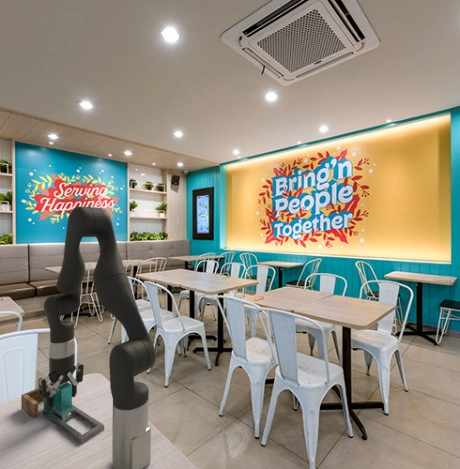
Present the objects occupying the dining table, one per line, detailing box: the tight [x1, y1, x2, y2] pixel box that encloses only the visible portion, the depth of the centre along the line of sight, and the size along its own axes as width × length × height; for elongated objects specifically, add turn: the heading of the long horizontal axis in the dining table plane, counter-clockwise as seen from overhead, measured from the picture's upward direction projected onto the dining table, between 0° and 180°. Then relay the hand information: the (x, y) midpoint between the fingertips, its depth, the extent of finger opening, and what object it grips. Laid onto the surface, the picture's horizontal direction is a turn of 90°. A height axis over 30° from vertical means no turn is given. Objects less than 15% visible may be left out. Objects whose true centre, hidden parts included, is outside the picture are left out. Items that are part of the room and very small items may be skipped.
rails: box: [41, 404, 105, 445], centre depth 95 cm, size 24×7×2 cm, turn 57°
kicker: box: [43, 381, 76, 422], centre depth 98 cm, size 8×8×10 cm
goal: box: [20, 383, 55, 420], centre depth 103 cm, size 9×12×5 cm
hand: (62, 401), depth 98 cm, fingers open, 6 cm apart
